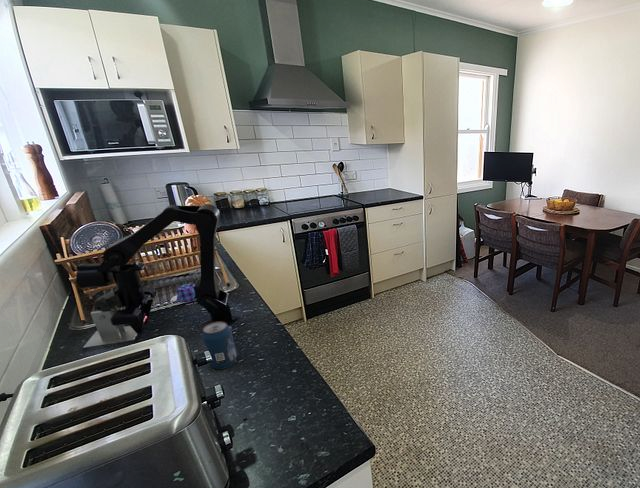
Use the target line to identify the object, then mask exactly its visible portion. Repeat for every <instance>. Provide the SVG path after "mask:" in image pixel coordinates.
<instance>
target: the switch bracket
mask: <svg viewBox="0 0 640 488" xmlns="http://www.w3.org/2000/svg"><path fill="white" fill-rule="evenodd" d="M111 309H114V311H113V312H114V313H115V312H116V311H117V310H120V309H119V308H117V306H114V307H112V308H110V310H106V311H99V310H96V311H91V312H90V316H91V318H92V321H93V323H94V325H95V327H96V331H95V332H94V333H93V334H92V336H91V337H90V338H89V339H88V340H87V342H85V344H84V346H83V347H82V348H83V350H84V349H91V348H98V347H103V346H104V347H105V346H111V345H117V344H122V343H130V342H134V341H135V340H136V338H137V337H138V335H139V333H138V334H137V333H136V332H135V331H134V330H133V329H132V328H131V326H130V325H127V326H126V324H122V325H112V324H111V321H110V318H111V317H112V316H113V314H112V311H111Z"/></svg>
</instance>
